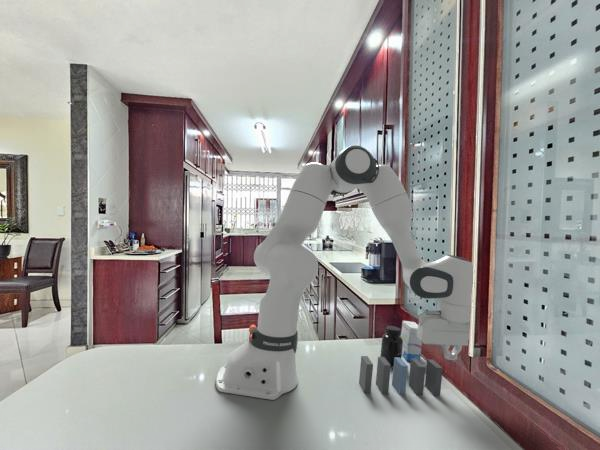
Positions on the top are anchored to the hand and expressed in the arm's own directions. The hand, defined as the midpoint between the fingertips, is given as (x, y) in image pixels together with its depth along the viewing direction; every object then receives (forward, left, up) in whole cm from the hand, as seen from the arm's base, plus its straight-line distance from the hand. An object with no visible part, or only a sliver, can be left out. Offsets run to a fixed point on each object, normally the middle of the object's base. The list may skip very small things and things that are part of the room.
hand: (450, 358), depth 85 cm
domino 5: (-5, 0, -9) cm, 11 cm away
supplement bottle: (-11, +16, -10) cm, 21 cm away
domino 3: (-15, 0, -9) cm, 18 cm away
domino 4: (-10, 0, -9) cm, 14 cm away
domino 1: (-25, 0, -9) cm, 27 cm away
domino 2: (-20, -1, -9) cm, 22 cm away
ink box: (-1, +21, -10) cm, 23 cm away
